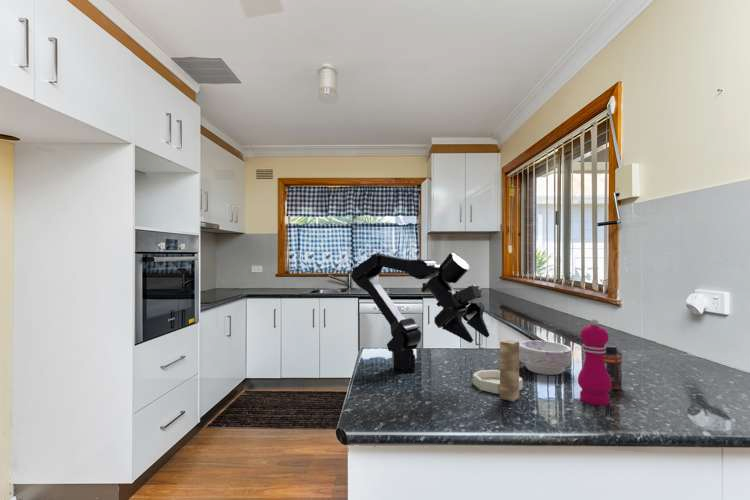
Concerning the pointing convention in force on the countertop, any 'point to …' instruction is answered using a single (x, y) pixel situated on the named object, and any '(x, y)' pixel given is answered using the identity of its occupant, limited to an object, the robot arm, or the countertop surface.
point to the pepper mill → (594, 366)
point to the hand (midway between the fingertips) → (480, 339)
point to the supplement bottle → (613, 366)
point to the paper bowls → (545, 356)
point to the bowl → (490, 380)
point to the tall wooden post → (509, 370)
